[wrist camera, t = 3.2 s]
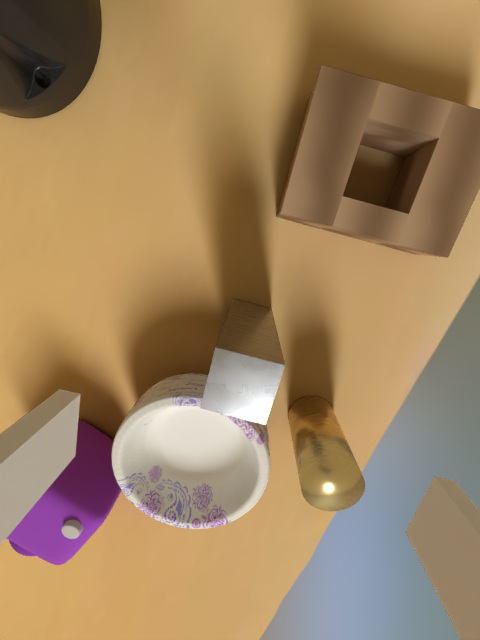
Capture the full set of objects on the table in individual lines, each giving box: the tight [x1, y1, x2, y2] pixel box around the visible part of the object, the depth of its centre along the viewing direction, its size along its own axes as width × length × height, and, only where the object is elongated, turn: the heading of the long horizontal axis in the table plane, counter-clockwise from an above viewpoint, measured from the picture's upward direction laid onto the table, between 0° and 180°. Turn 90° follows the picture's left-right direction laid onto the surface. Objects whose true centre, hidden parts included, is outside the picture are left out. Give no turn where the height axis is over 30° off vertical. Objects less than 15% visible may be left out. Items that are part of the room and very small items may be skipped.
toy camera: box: [7, 421, 121, 565], centre depth 32 cm, size 11×14×10 cm
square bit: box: [200, 299, 285, 425], centre depth 24 cm, size 4×4×14 cm
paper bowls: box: [112, 373, 271, 529], centre depth 30 cm, size 15×15×8 cm
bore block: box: [277, 65, 480, 257], centre depth 24 cm, size 14×10×5 cm
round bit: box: [288, 396, 365, 511], centre depth 29 cm, size 5×5×10 cm
